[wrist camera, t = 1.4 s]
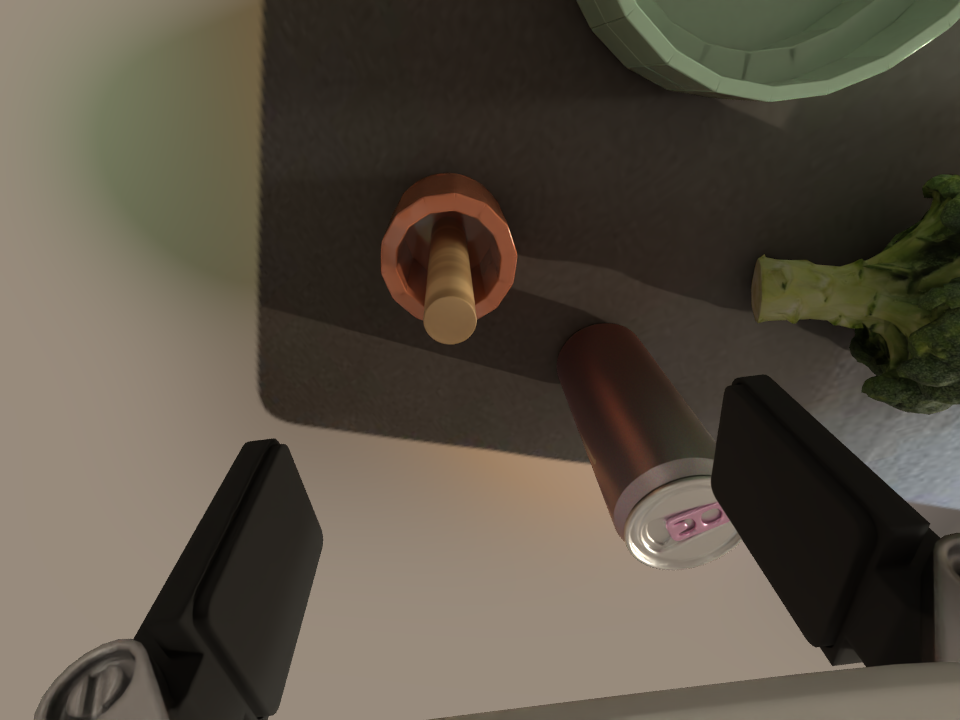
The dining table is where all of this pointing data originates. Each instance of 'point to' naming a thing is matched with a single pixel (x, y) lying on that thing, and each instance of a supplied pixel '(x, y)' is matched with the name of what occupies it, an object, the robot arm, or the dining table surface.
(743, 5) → the bowl
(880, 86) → the dining table surface
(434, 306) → the stick
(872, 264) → the vegetable
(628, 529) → the beverage can
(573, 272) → the dining table surface
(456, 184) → the holder
